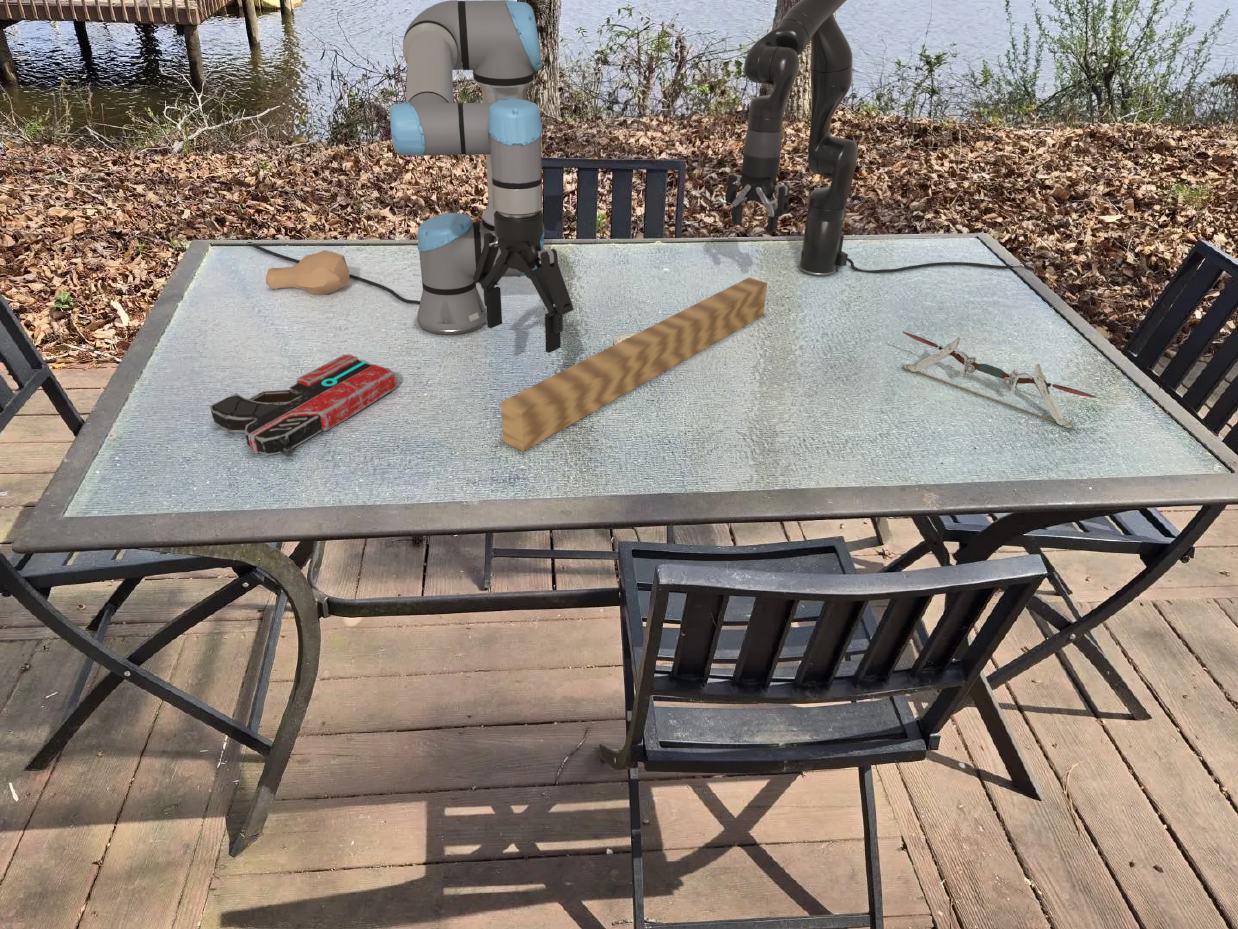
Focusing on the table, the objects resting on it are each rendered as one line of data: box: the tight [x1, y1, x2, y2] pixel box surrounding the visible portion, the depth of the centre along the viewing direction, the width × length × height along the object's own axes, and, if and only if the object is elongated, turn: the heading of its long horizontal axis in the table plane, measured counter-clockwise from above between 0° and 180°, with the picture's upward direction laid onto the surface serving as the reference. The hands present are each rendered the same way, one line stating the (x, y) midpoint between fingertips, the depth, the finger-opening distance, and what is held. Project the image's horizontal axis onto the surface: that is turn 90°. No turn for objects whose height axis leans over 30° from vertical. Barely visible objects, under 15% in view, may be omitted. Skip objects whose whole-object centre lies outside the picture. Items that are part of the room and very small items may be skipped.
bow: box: [901, 330, 1097, 429], centre depth 171 cm, size 39×2×10 cm, turn 47°
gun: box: [209, 353, 398, 457], centre depth 162 cm, size 4×31×19 cm
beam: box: [500, 277, 768, 452], centre depth 178 cm, size 79×5×8 cm, turn 140°
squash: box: [265, 250, 350, 296], centre depth 208 cm, size 11×20×9 cm, turn 90°
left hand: (523, 337), depth 146 cm, fingers open, 13 cm apart
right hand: (753, 228), depth 190 cm, fingers open, 8 cm apart
